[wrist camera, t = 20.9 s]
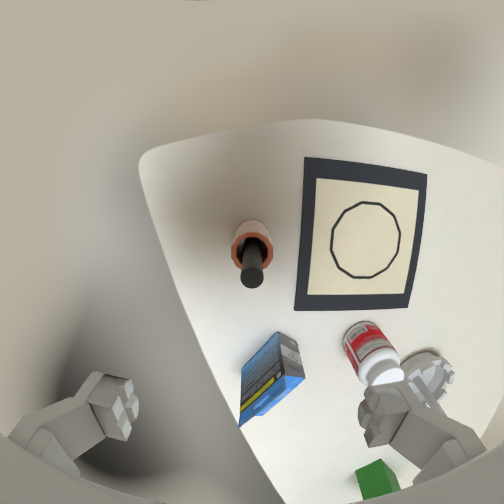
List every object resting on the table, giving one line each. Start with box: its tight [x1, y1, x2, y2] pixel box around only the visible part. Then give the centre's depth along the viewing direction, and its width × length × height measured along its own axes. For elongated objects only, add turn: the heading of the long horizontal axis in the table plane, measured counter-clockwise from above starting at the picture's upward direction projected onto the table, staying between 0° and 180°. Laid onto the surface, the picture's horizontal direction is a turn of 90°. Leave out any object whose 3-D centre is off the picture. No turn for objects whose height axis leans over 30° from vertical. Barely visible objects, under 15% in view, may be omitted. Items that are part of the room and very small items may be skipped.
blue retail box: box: [238, 332, 305, 428], centre depth 33 cm, size 9×4×12 cm, turn 144°
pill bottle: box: [343, 322, 404, 386], centre depth 33 cm, size 6×6×11 cm
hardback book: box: [355, 459, 401, 500], centre depth 40 cm, size 18×7×24 cm, turn 35°
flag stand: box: [400, 352, 455, 417], centre depth 26 cm, size 13×13×30 cm
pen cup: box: [231, 220, 273, 269], centre depth 30 cm, size 4×4×8 cm
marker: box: [240, 237, 263, 288], centre depth 27 cm, size 2×2×14 cm
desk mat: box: [294, 157, 427, 311], centre depth 34 cm, size 20×18×1 cm
